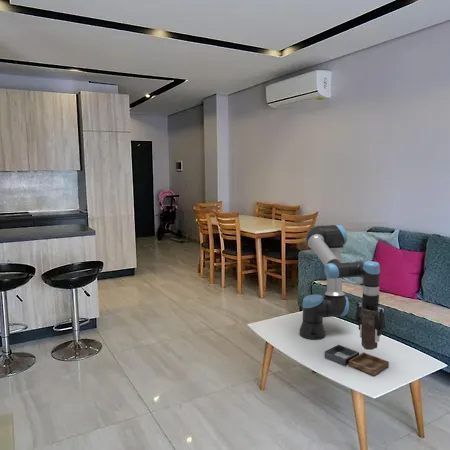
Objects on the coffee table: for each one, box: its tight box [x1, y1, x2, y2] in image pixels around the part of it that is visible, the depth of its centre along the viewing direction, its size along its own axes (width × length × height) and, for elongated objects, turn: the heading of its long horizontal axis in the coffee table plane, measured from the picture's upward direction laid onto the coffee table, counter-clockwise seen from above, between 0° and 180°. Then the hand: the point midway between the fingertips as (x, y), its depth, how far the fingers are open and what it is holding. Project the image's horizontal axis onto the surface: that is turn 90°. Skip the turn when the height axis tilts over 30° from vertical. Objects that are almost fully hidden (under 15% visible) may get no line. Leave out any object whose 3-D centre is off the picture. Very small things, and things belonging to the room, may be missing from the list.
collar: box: [323, 344, 360, 367], centre depth 206 cm, size 12×12×4 cm
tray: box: [348, 352, 390, 377], centre depth 197 cm, size 14×14×3 cm
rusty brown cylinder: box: [360, 306, 379, 351], centre depth 194 cm, size 8×7×20 cm
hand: (369, 339), depth 195 cm, fingers closed on rusty brown cylinder, 7 cm apart
